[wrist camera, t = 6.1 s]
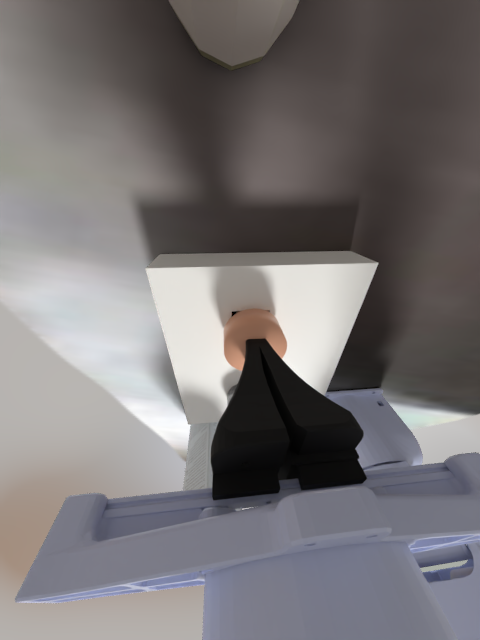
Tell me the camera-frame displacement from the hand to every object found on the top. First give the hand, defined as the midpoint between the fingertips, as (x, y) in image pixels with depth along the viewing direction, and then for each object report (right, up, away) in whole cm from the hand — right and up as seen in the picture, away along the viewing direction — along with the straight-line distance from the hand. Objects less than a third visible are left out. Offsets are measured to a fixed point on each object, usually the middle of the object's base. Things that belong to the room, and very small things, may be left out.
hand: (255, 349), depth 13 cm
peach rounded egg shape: (0, +3, +4) cm, 5 cm away
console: (0, 0, +8) cm, 8 cm away
